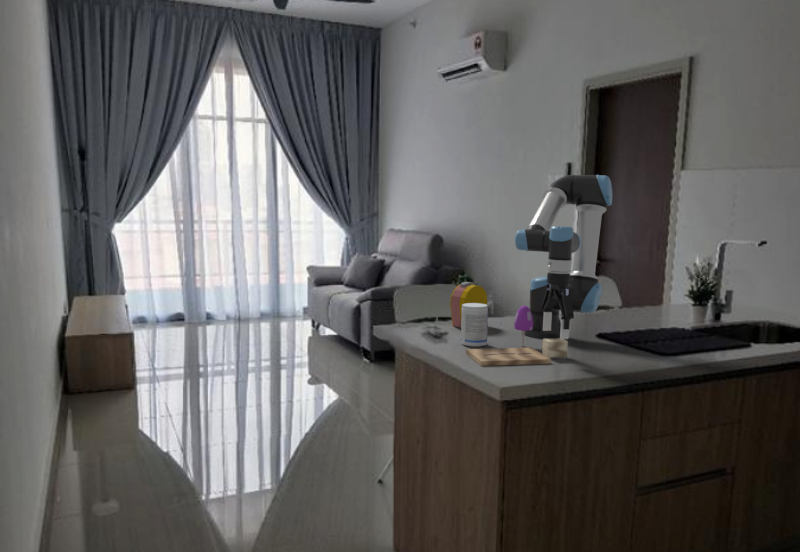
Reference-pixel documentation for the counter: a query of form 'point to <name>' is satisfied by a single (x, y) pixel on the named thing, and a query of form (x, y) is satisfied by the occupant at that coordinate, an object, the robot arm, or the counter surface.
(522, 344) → the toy
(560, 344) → the block
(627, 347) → the counter surface
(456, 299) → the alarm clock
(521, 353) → the board
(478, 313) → the supplement tub
